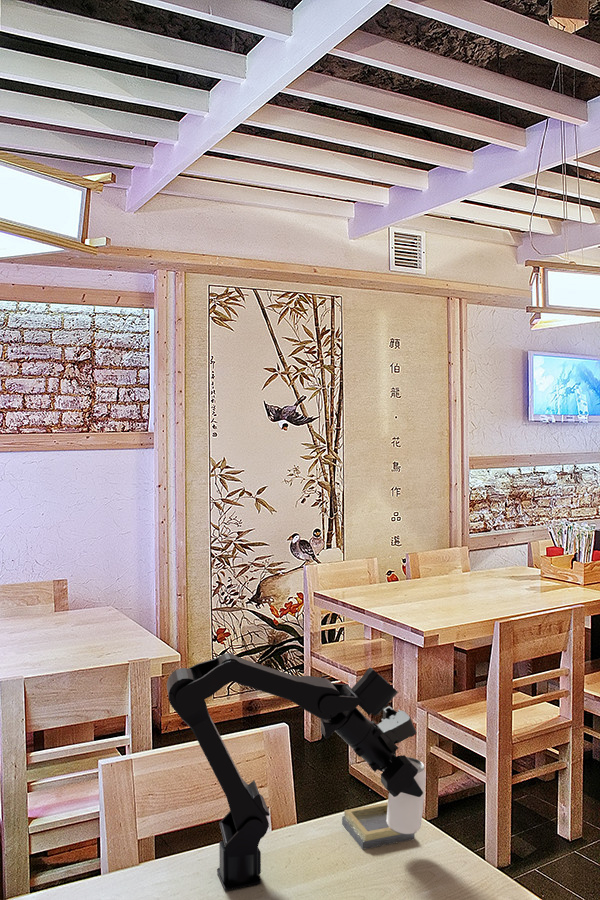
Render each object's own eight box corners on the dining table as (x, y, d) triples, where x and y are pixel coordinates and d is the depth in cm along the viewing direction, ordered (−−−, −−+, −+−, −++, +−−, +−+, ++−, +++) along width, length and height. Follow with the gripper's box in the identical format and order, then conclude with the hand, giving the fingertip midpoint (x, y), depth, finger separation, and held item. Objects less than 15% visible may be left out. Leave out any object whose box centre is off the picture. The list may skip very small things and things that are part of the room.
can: (423, 837, 139) (429, 774, 138) (388, 834, 139) (394, 771, 138) (417, 816, 145) (423, 757, 144) (384, 814, 145) (390, 754, 144)
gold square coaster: (362, 849, 143) (362, 835, 143) (342, 823, 153) (342, 810, 153) (414, 839, 147) (414, 825, 147) (391, 814, 156) (391, 801, 156)
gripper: (407, 718, 131) (465, 776, 133) (373, 683, 149) (425, 735, 151) (363, 767, 129) (423, 825, 132) (334, 726, 147) (387, 778, 150)
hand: (415, 787), depth 141 cm, fingers closed on can, 6 cm apart
